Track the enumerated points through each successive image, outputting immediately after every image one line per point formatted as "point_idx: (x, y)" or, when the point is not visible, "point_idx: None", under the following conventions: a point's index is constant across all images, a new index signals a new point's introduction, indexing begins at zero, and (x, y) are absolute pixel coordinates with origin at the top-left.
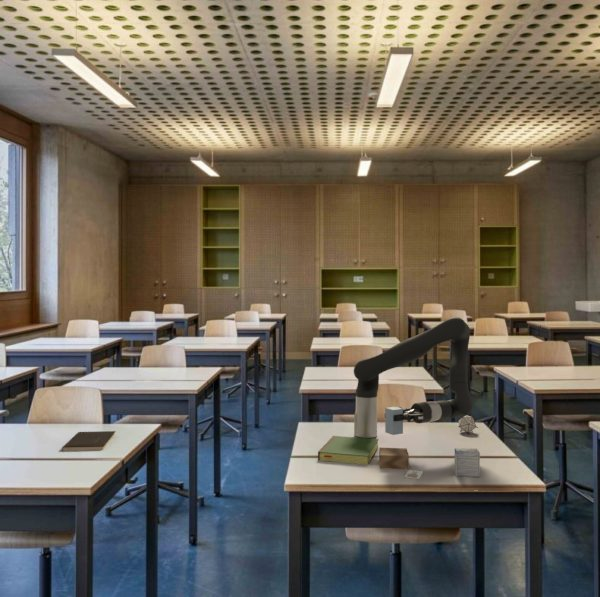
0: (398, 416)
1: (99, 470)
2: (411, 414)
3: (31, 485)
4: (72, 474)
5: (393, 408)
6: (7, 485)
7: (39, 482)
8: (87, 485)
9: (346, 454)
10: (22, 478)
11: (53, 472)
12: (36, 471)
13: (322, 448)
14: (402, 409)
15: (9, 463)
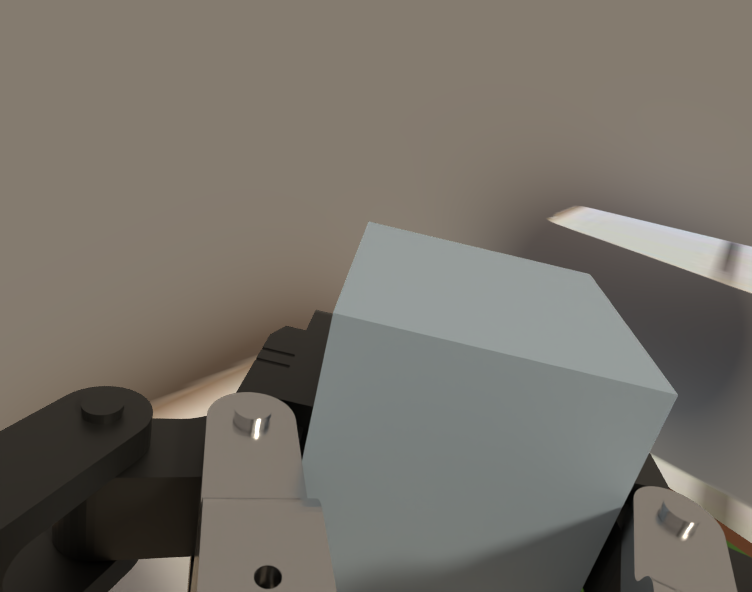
0: (277, 345)
1: (642, 250)
2: (47, 467)
3: (583, 212)
4: (626, 236)
5: (476, 277)
6: (591, 208)
7: (594, 217)
8: (559, 223)
9: None
10: (620, 219)
11: (644, 234)
12: (654, 231)
13: (726, 531)
14: (332, 323)
15: (706, 236)
